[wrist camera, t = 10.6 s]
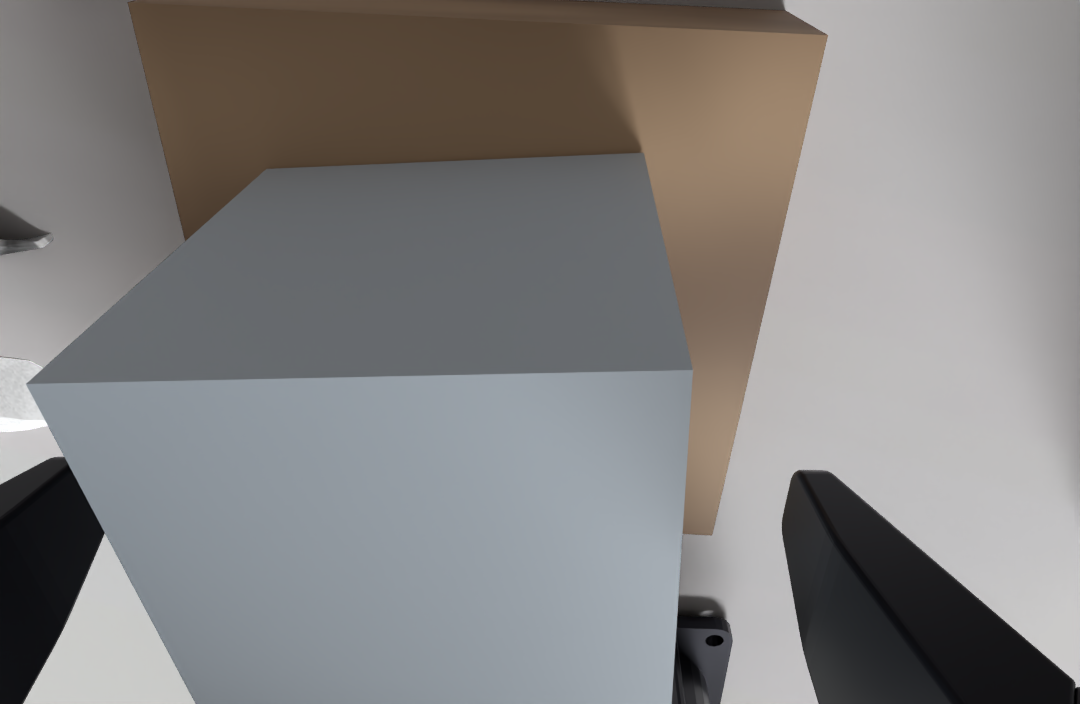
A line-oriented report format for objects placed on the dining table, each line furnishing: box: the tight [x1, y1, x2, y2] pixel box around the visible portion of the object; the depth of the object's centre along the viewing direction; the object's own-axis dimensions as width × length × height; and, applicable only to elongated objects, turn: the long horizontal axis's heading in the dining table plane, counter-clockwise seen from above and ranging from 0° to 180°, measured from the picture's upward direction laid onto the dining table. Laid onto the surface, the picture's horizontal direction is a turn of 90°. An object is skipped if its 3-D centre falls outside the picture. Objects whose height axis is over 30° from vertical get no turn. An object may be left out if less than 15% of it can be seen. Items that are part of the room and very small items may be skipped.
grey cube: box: [26, 153, 693, 704], centre depth 11 cm, size 6×6×6 cm
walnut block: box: [128, 0, 828, 535], centre depth 14 cm, size 10×10×3 cm
